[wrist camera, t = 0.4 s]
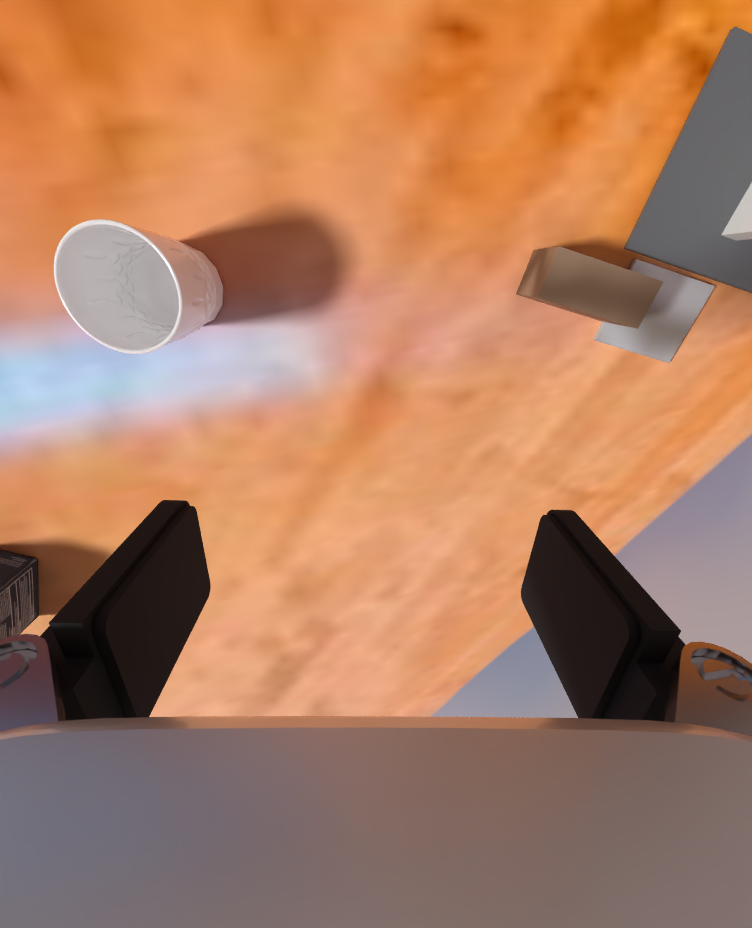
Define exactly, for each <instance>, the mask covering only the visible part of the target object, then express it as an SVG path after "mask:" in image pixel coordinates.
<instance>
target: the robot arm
mask: <svg viewBox="0 0 752 928" xmlns="http://www.w3.org/2000/svg"><path fill="white" fill-rule="evenodd" d="M209 593H210V579H209V574H208V569H207V563H206V558H205V553H204V548H203V542H202V537H201V532H200V527H199V521H198V516H197V511H196V509H195V507H193V506H190V505H189V503H188V502H187V501H178V500H163V501H161V502H160V503H159V504H158V505H157V506H156V507H155V508H154V510H153V511H152V512H151V513H150V514H149V515H148V516H147V517H146V518H145V519H144V520H143V521H142V523H141V524H140V525H139V526H138V527H137V528H136V529H135V530H134V531H133V532H132V533H131V534H130V536H129V537H128V538H127V539H126V540H125V541H124V542H123V543H122V544H121V545H120V546H119V547H118V549H117V550H116V551H115V552H114V553H113V554H112V555H111V556H110V557H109V558H108V559H107V560H106V562H105V563H104V564H103V565H102V566H101V567H100V568H99V569H98V570H97V571H96V572H95V573H94V575H93V576H92V577H91V578H90V579H89V580H88V581H87V582H86V583H85V584H84V585H83V586H82V588H81V589H80V590H79V591H78V592H77V593H76V594H75V595H74V596H73V597H72V598H71V600H70V601H69V602H68V603H67V604H66V605H65V606H64V607H63V608H62V609H61V610H60V611H59V613H58V614H57V615H56V616H55V617H54V618H53V619H52V620H51V621H50V622H49V624H50V626H49V627H48V628H47V629H46V630H45V632H44V633H43V634H42V635H41V636H38V635H33V634H21V635H14V636H10V637H7V638H3V639H0V928H752V664H751V663H750V662H748V661H747V660H745V659H744V658H743V657H741V656H739V655H737V654H735V653H733V652H731V651H730V650H727V649H725V648H723V647H719V646H717V645H714V644H710V643H705V642H691V643H689V644H687V645H685V644H684V643H683V641H682V640H681V639H680V638H679V637H678V635H679V634H680V632H681V630H680V629H679V628H678V627H677V626H676V625H675V624H674V622H673V621H672V620H671V619H670V618H669V617H668V616H667V615H666V614H665V612H664V611H663V610H662V609H661V608H660V607H659V606H658V604H657V603H656V602H655V601H654V600H653V599H652V598H651V597H650V596H649V594H648V593H647V592H646V591H645V590H644V589H643V588H642V587H641V585H640V584H639V583H638V582H637V581H636V580H635V579H634V578H633V576H632V575H631V574H630V573H629V572H628V571H627V570H626V569H625V568H624V566H623V565H622V564H621V563H620V562H619V561H618V560H617V559H616V557H615V556H614V555H613V554H612V553H611V552H610V551H609V550H608V548H607V547H606V546H605V545H604V544H603V543H602V542H601V541H600V539H599V538H598V537H597V536H596V535H595V534H594V533H593V532H592V530H591V529H590V528H589V527H588V526H587V525H586V524H585V523H584V521H583V520H582V519H581V518H580V517H579V516H578V515H577V514H576V513H575V512H574V511H572V510H550V511H549V512H548V513H547V515H543V516H542V517H541V519H540V523H539V526H538V530H537V534H536V537H535V541H534V544H533V548H532V552H531V555H530V559H529V563H528V566H527V570H526V574H525V577H524V581H523V584H522V588H521V598H522V601H523V604H524V606H525V608H526V610H527V612H528V614H529V616H530V618H531V620H532V623H533V625H534V627H535V629H536V631H537V633H538V635H539V637H540V639H541V641H542V643H543V645H544V647H545V650H546V651H547V654H548V655H549V658H550V660H551V662H552V664H553V666H554V668H555V670H556V672H557V674H558V677H559V679H560V681H561V683H562V685H563V687H564V689H565V691H566V693H567V695H568V697H569V699H570V701H571V703H572V706H573V708H574V710H575V712H576V714H577V716H578V718H512V717H509V718H507V717H346V716H254V717H149V716H150V714H151V712H152V710H153V708H154V706H155V704H156V702H157V700H158V698H159V696H160V694H161V692H162V690H163V688H164V686H165V684H166V682H167V680H168V678H169V676H170V673H171V671H172V669H173V667H174V665H175V663H176V661H177V659H178V657H179V655H180V653H181V651H182V649H183V647H184V645H185V643H186V641H187V639H188V637H189V635H190V633H191V631H192V629H193V627H194V625H195V623H196V621H197V619H198V617H199V615H200V613H201V611H202V609H203V607H204V605H205V603H206V601H207V599H208V597H209Z"/></svg>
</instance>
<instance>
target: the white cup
mask: <svg viewBox="0 0 752 928" xmlns="http://www.w3.org/2000/svg"><path fill="white" fill-rule="evenodd" d="M54 277H55V282H56V287H57V290H58V293H59V296H60V298H61V300H62V302H63V304H64V306H65V308H66V310H67V311H68V313H69V314H70V316H71V317H72V318H73V320H74V321H75V322H76V323H77V324H78V326H79V327H80V328H81V329H82V330H83V331H85V332H86V333H87V334H88V335H89V336H90V337H92V338H93V339H95V340H96V341H98V342H99V343H101V344H103V345H105V346H107V347H109V348H111V349H114V350H117V351H120V352H125V353H132V354H141V353H148V352H152V351H155V350H157V349H159V348H161V347H163V346H165V345H168V344H170V343H172V342H174V341H177V340H179V339H181V338H183V337H185V336H187V335H189V334H191V333H193V332H194V331H196V330H198V329H200V328H201V327H202V326H203V325H205V324H207V323H209V322H210V321H212V320H214V319H215V317H216V316H217V314H218V312H219V310H220V309H221V307H222V305H223V284H222V282H221V279H220V276H219V274H218V271H217V269H216V267H215V266H214V265H213V264H212V263H211V261H210V260H209V259H208V258H207V257H206V256H205V255H204V254H203V252H201V251H199V250H197V249H195V248H193V247H191V246H189V245H187V244H184V243H181V242H179V241H177V240H174V239H171V238H169V237H166V236H163V235H160V234H157V233H154V232H150V231H147V230H143V229H140V228H136V227H133V226H130V225H126V224H123V223H120V222H116V221H112V220H104V219H97V220H89V221H86V222H83V223H80V224H78V225H76V226H75V227H73V228H72V229H70V230H69V231H68V232H67V233H66V234H65V235H64V237H63V238H62V240H61V241H60V243H59V245H58V248H57V250H56V254H55V259H54Z"/></svg>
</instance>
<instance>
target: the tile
mask: <svg viewBox="0 0 752 928" xmlns="http://www.w3.org/2000/svg"><path fill="white" fill-rule="evenodd" d="M722 236H725V237H728V238H730V239H733V240H736V241H737V240H747V239H752V183H751V184H750V186H749V188H748V190H747V191H746V193H745V195H744V196H743V198H742V200H741V202H740V203H739V205H738V207H737V209H736V210H735V212H734V214H733V216H732V217H731V219H730V221H729V222H728V224H727V226H726V228H725V229H724V231H723V233H722Z"/></svg>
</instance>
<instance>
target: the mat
mask: <svg viewBox="0 0 752 928" xmlns="http://www.w3.org/2000/svg"><path fill="white" fill-rule="evenodd" d="M751 183H752V34H750V33H748V32H746V31H744V30H742V29H739V28H737V27H734V28H733V29H731V30H730V32H729V34H728V36H727V38H726V40H725V42H724V44H723V46H722V48H721V51H720V53H719V55H718V57H717V59H716V61H715V63H714V65H713V67H712V69H711V71H710V73H709V75H708V77H707V79H706V81H705V83H704V85H703V87H702V90H701V92H700V94H699V96H698V98H697V100H696V102H695V104H694V106H693V108H692V110H691V112H690V114H689V116H688V118H687V120H686V122H685V124H684V126H683V129H682V131H681V133H680V135H679V137H678V139H677V141H676V143H675V145H674V147H673V149H672V151H671V153H670V155H669V157H668V159H667V161H666V163H665V165H664V168H663V170H662V172H661V174H660V176H659V178H658V180H657V182H656V184H655V186H654V188H653V190H652V192H651V194H650V196H649V198H648V200H647V202H646V205H645V207H644V209H643V211H642V213H641V215H640V217H639V219H638V221H637V223H636V225H635V227H634V229H633V231H632V233H631V235H630V237H629V239H628V241H627V244H626V246H625V248H624V249H627V250H630V251H633V252H636V253H639V254H641V255H644V256H647V257H650V258H653V259H656V260H659V261H662V262H664V263H667V264H670V265H673V266H676V267H679V268H682V269H685V270H687V271H690V272H693V273H696V274H699V275H702V276H705V277H708V278H710V279H713V280H716V281H719V282H722V283H725V284H728V285H731V286H733V287H736V288H739V289H742V290H745V291H748V292H751V293H752V239H747V240H737V241H736V240H733V239H730V238H728V237H725V236H722V233H723V231H724V229H725V228H726V226H727V224H728V222H729V221H730V219H731V217H732V216H733V214H734V212H735V210H736V209H737V207H738V205H739V203H740V202H741V200H742V198H743V196H744V195H745V193H746V191H747V190H748V188H749V186H750V184H751Z"/></svg>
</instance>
